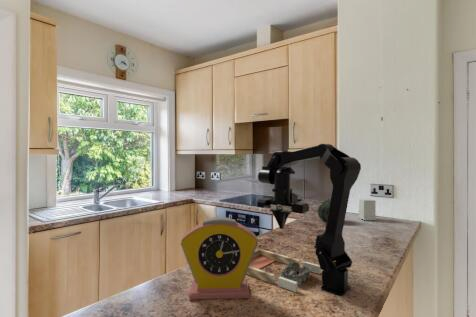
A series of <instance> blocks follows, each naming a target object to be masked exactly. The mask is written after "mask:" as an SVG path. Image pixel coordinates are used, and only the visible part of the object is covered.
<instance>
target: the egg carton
mask: <svg viewBox="0 0 476 317" xmlns="http://www.w3.org/2000/svg"><path fill="white" fill-rule="evenodd" d="M302 265H303V264H302ZM310 269H311V268H309V267H305V266H304V265H303V266H301V264H300V265H299V263H298V262H295V261H294V260H293V261H291V262H290V263H289V265H286V266H285V267H284V268H282V269H281V270H280V272H279V275H280V276H281V277H283V278H286V279H289V280H292V281H295V282H298V286H301V285H302V282H306V280H307V278H310V277H311V272H310ZM297 272H298V273H297Z"/></svg>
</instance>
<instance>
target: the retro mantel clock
mask: <svg viewBox="0 0 476 317" xmlns="http://www.w3.org/2000/svg"><path fill="white" fill-rule="evenodd" d="M180 246H181V248H182V252H183V254H184V257H185V259H186V261H187V264H188V267H189V270H190V272H191V274H192V277H193V280H191V281H192V282H191V285H190V288H189V294H188V299H189V300H190V301H192V300H230V299H231V300H234V299H235V300H236V299H249V298H250V288H249V284H248V280H247V279H246V275H247V274H246V273H247V270H248V268H249V265H250V262H251V260H252V257H253V254H254V252H255V250H256V249H257V246H258V237H257V236H256V234H255V233H254V232H253V231H252V230H251V229H250V228H248V227H247V226H245V225H244V224H242V223H239V222H237V221H236V219H234V218H230V217H225V216H215V217H209V218H206V219H204V220H203V221H202V222H201V223H198V224H197V225H195V226H194V227H192V228H190V229H189V230H188V231H186V233H184V234H183V236H182V238H181V242H180Z"/></svg>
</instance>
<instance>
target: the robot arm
mask: <svg viewBox="0 0 476 317" xmlns="http://www.w3.org/2000/svg"><path fill="white" fill-rule="evenodd" d="M315 159H321V160H322V163H323V165H325V166H326V168H328V169H329V179H330V181H331V185H332V190H331V194H330V195H331V197H330V199H331V200H330V206H329V212H328V217H327V221H326V224H325V229H324V233H320V234H317V235H316V238H315V245H314V249H315V256H317V261H318V265H320V268H321V284H322V286H320V289H321V290H323V291H327V292H329V293H331V294H335V295H338V296H341V297H342V296H344V295H345V294H346V293H347V292H348V291H349V290H350V289H351V287H350V285H349V269H348V268H351V267H352V264H353V260H352V259H351V257H350V256H349V254H348V253H347V252H346V250H345V247H346V246H345V244H346V243H345V240H344V237H343V232H344V231H343V230H344V225H345V219H346V216H347V215H346V214H347V210H348V209H347V208H348V203H349V198H350V192H351V189H352V187H354V185H355V183H356V182H357V180H358V178H359V175H360V172H361V168H362V167H361V166H362V165H361V163H360V162H359V160H358V159H357V158H355V157H351V156H350V155H348V154H346V153H345V152H344V151H341V150H340V149H338V148H336V147H335V146H334V145H332V144H330V143H320V144H317V145H314V146H309V147H306V148H301V149H296V150H289V151H288V150H287V151H285V150H283V151H278V150H276V151H274V152H273V153H272V156H271V157H270V160H269V162H268V164H267V165H262V168H261V170H259V172H258V174H257V177H258V178H257V179H258V181H259V182H260V183H261V184H266V185H273V188H272V190H271V191H272V192H273V198H269V197H263V198H258V199H257V201H256V207H257V208H265V207H266V206H268V207H270V209H269V212H272V215H273V216H274V218H275V220H276V222H277V225H278V227H279V229H281V230H284V228H285V226H286V223H287V219H288V217H289V216H290V214H291V213H295V214H304V213H307V212H310V205H309V203H307V202H303V201H301V202H300V201H298V198H299V195H297V193H293V188H291V175H295V174H296V171H295V170H294V169H293V168H292V166H295V165H297V164H298V163H300V162H303V161H310V160H315ZM272 192H271V193H272Z"/></svg>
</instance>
